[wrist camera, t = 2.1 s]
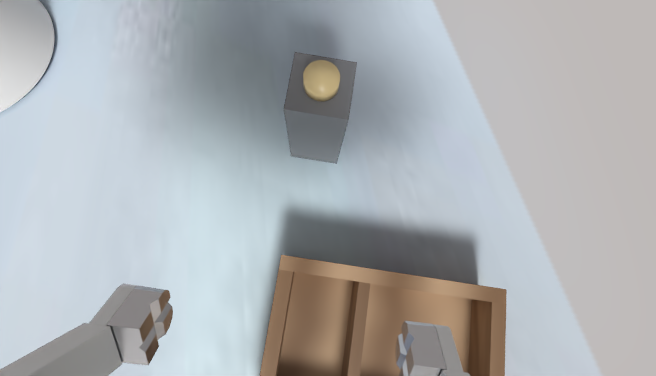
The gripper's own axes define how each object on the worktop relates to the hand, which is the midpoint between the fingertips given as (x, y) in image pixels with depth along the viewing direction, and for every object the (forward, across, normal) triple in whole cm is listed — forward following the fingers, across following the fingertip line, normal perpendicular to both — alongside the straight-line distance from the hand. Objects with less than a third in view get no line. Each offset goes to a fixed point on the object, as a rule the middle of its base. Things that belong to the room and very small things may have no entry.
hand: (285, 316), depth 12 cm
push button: (+20, 0, +1) cm, 20 cm away
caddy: (+9, -6, +13) cm, 17 cm away
